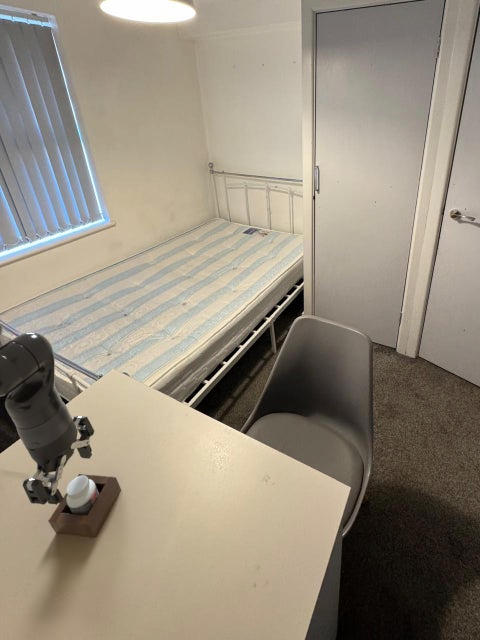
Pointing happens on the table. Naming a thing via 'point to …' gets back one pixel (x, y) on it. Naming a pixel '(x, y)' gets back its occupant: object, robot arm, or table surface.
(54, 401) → the robot arm
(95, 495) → the pill bottle
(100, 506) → the holder
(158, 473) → the table surface
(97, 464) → the table surface
